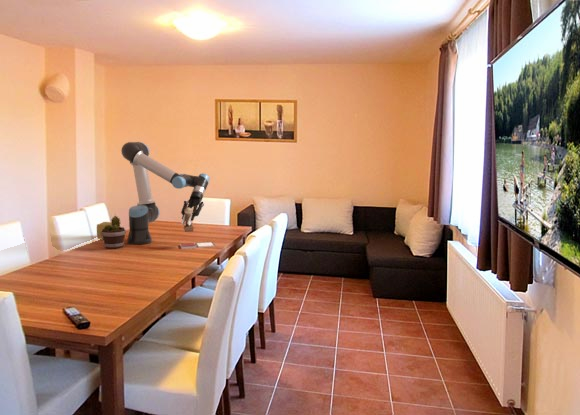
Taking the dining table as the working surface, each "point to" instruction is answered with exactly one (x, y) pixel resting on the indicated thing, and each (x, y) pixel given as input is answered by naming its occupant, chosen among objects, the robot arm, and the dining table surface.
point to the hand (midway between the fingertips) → (185, 224)
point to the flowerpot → (113, 234)
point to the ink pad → (187, 245)
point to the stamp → (187, 216)
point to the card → (205, 244)
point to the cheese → (101, 226)
